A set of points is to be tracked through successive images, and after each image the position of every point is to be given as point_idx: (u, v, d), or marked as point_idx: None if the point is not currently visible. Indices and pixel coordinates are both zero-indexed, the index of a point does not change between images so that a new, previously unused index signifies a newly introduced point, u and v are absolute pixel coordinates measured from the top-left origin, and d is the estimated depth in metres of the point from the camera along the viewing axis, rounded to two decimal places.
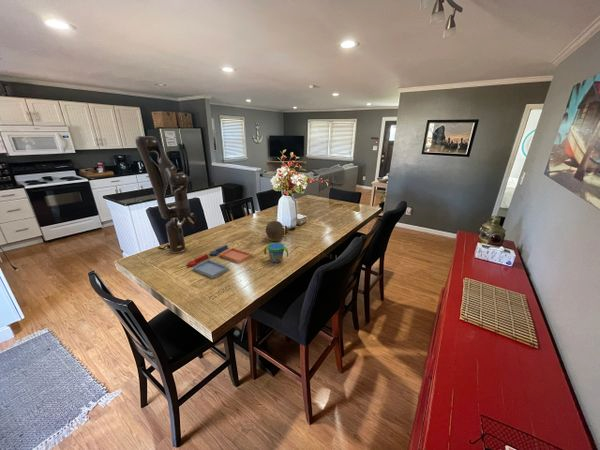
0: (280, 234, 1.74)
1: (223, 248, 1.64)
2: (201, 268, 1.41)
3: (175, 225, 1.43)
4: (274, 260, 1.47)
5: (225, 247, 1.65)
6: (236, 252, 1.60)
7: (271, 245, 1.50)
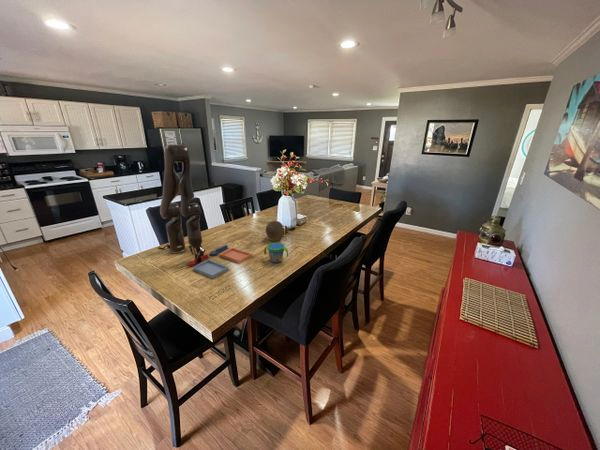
0: (280, 234, 1.74)
1: (223, 248, 1.64)
2: (201, 268, 1.41)
3: (191, 252, 1.49)
4: (274, 260, 1.47)
5: (225, 247, 1.65)
6: (236, 252, 1.60)
7: (271, 245, 1.50)
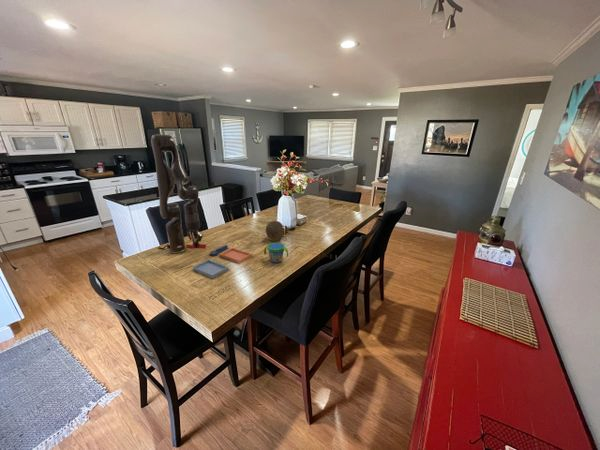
0: (280, 234, 1.74)
1: (223, 248, 1.64)
2: (201, 268, 1.41)
3: (189, 237, 1.45)
4: (274, 260, 1.47)
5: (225, 247, 1.65)
6: (236, 252, 1.60)
7: (271, 245, 1.50)
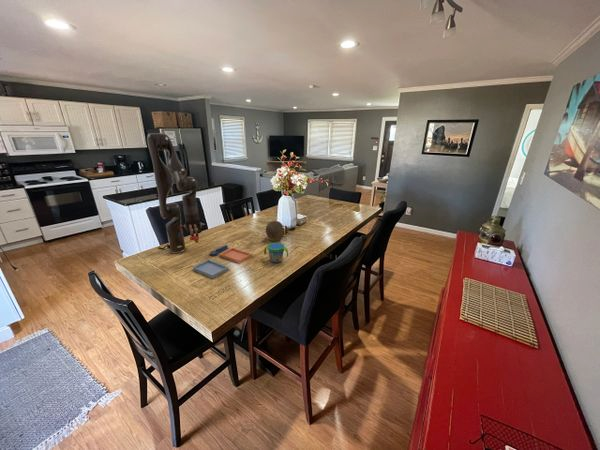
0: (280, 234, 1.74)
1: (223, 248, 1.64)
2: (201, 268, 1.41)
3: (186, 232, 1.40)
4: (274, 260, 1.47)
5: (225, 247, 1.65)
6: (236, 252, 1.60)
7: (271, 245, 1.50)
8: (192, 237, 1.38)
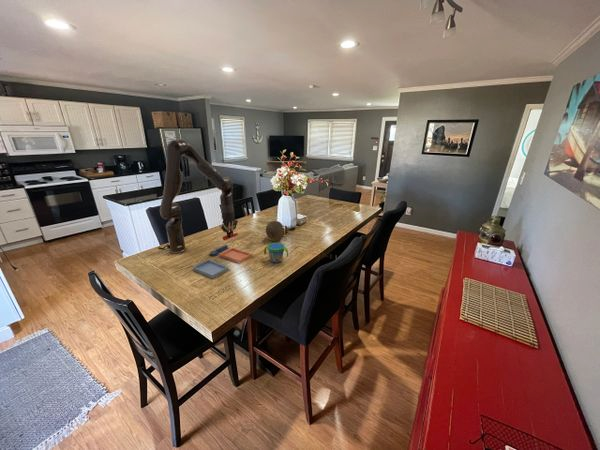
0: (280, 234, 1.74)
1: (223, 248, 1.64)
2: (201, 268, 1.41)
3: (225, 231, 1.45)
4: (274, 260, 1.47)
5: (225, 247, 1.65)
6: (236, 252, 1.60)
7: (271, 245, 1.50)
8: (235, 234, 1.47)
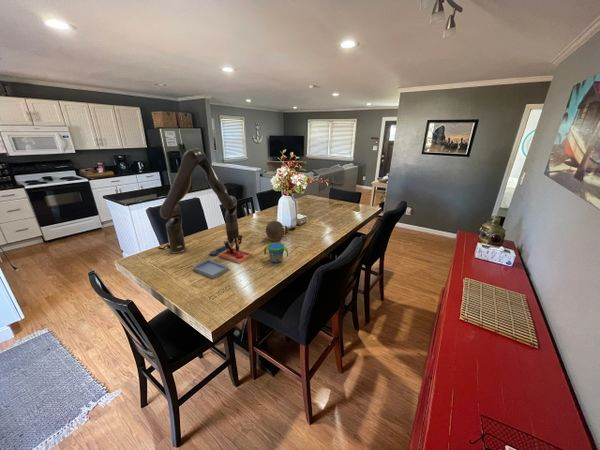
0: (280, 234, 1.74)
1: (223, 248, 1.64)
2: (201, 268, 1.41)
3: (228, 247, 1.49)
4: (274, 260, 1.47)
5: (225, 247, 1.65)
6: None
7: (271, 245, 1.50)
8: (241, 257, 1.52)
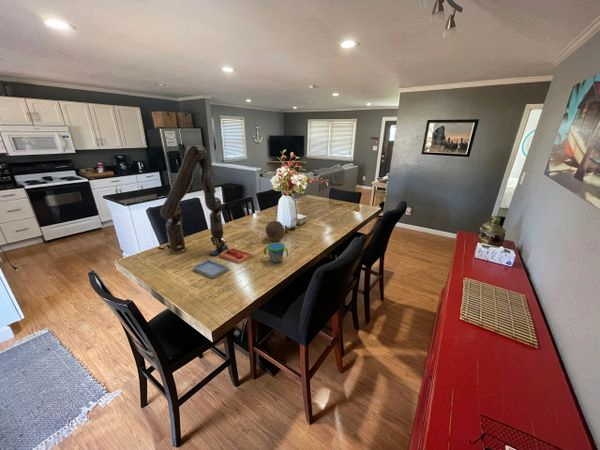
0: (280, 234, 1.74)
1: (223, 248, 1.64)
2: (201, 268, 1.41)
3: (213, 243, 1.62)
4: (274, 260, 1.47)
5: (225, 247, 1.65)
6: None
7: (271, 245, 1.50)
8: (241, 257, 1.52)
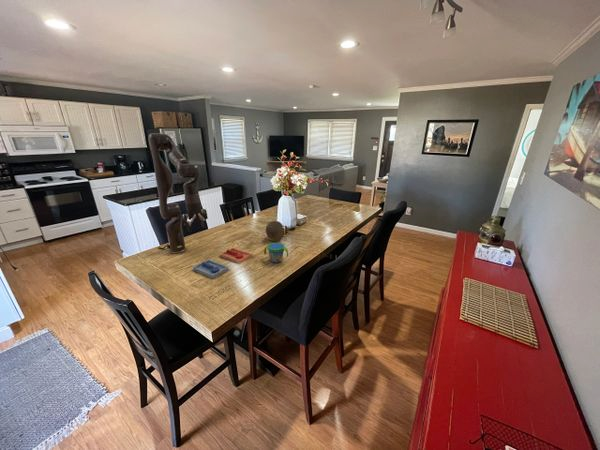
0: (280, 234, 1.74)
1: None
2: (201, 268, 1.41)
3: (185, 222, 1.27)
4: (274, 260, 1.47)
5: None
6: None
7: (271, 245, 1.50)
8: (241, 257, 1.52)
